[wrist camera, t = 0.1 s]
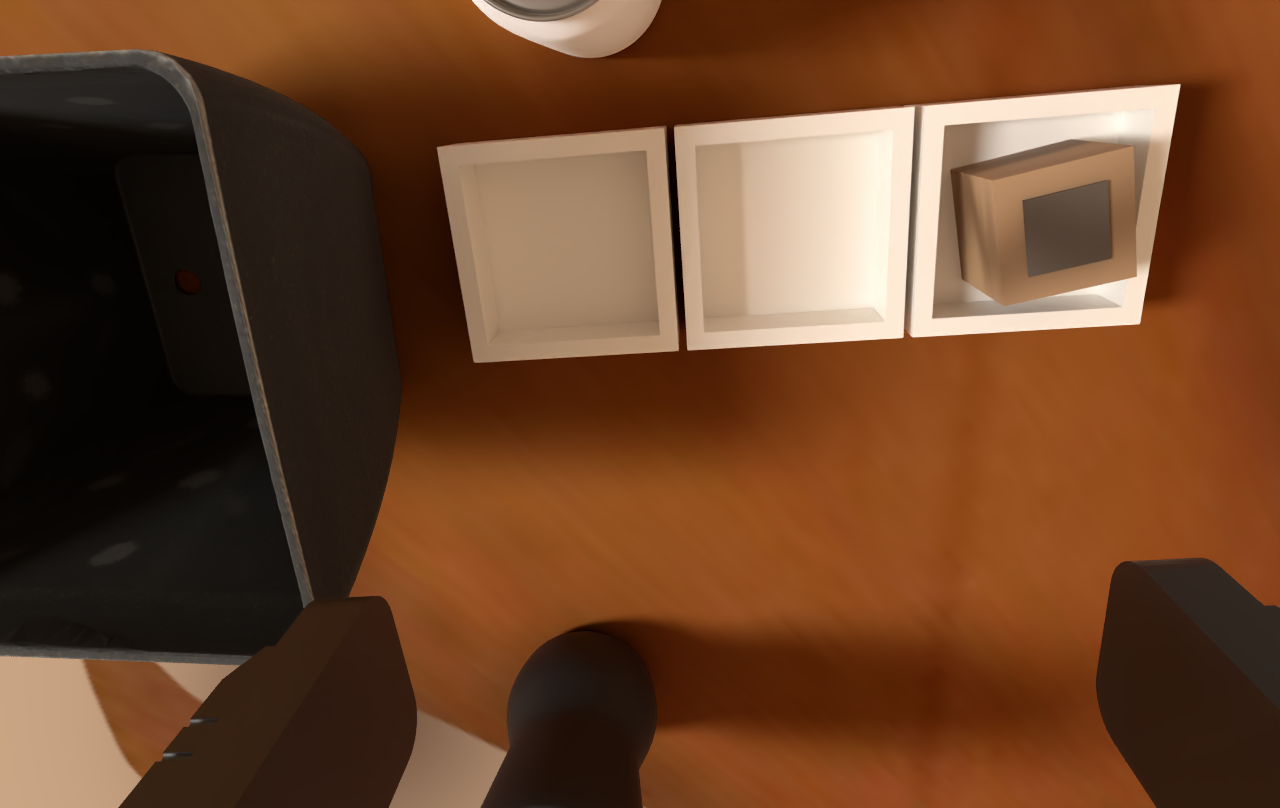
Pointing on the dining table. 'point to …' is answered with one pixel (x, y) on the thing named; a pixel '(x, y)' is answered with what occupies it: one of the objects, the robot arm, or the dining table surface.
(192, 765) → the robot arm
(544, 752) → the cola bottle
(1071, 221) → the letter cube
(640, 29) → the can
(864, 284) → the dish
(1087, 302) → the dish
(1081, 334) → the dining table surface
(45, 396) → the flower pot
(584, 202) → the dish
